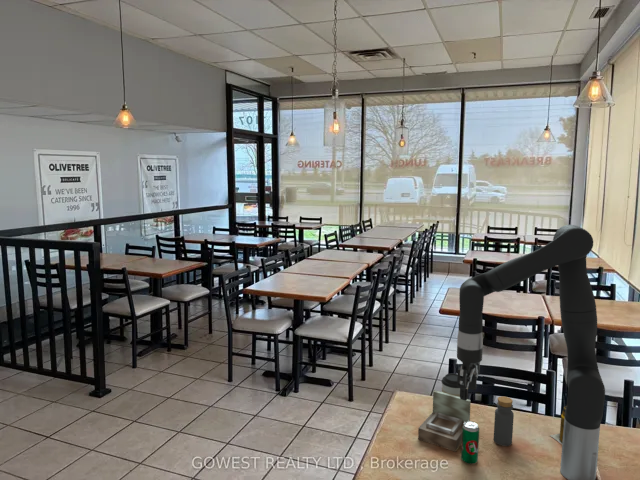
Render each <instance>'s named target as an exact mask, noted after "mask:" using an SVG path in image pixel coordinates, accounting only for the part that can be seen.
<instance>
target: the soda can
mask: <svg viewBox="0 0 640 480" xmlns="http://www.w3.org/2000/svg"><path fill="white" fill-rule="evenodd" d="M479 442H480V427H479V425H478V423H476V422H475V421H471V420H470V421H467V422H464V425H463V426H462V443H461V445H460V447H461V450H460V451H461V452H460V453H461V454H460V458H461V460H462V461H463V462H464V463H465V464H467V465H474V464H476V463H477V462H478V460H479V445H480V443H479Z"/></svg>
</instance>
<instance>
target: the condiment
mask: <svg viewBox="0 0 640 480" xmlns="http://www.w3.org/2000/svg"><path fill="white" fill-rule="evenodd" d="M566 407H567V405H564V406H563V408H562V413H561V414H560V415H561V416H560V424H559V425H560V428H559V433H556V434H550V435H549V436H550V437H551V438H553V439H554V440H555V441H557V442H558V443H559V444H560V445H562V443H563V430H564V418H565V410H566Z"/></svg>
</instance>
